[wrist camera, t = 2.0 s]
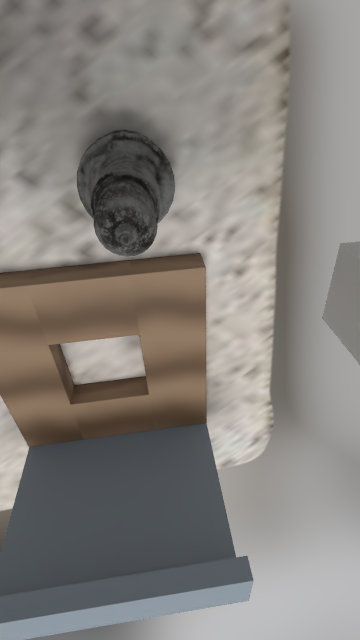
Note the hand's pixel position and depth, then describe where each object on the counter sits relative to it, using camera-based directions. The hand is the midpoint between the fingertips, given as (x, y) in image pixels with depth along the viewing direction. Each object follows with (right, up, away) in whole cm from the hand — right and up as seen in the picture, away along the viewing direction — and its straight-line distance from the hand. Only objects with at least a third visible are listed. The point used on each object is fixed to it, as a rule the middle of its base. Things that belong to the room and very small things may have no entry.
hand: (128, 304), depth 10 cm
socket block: (-6, -4, +22) cm, 23 cm away
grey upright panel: (-5, -11, +28) cm, 30 cm away
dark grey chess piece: (-2, +10, +13) cm, 16 cm away
